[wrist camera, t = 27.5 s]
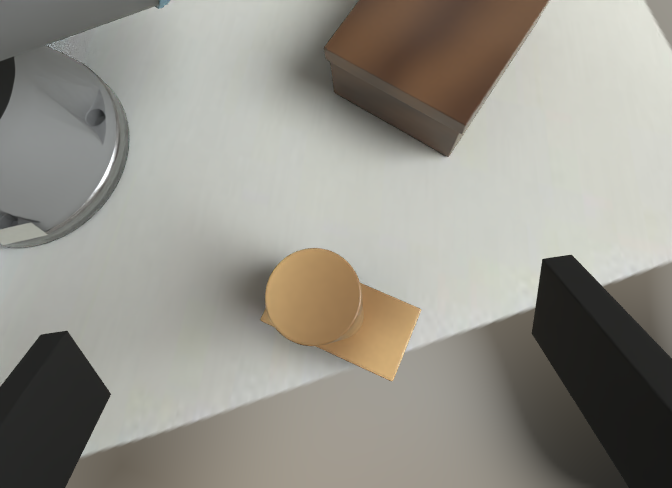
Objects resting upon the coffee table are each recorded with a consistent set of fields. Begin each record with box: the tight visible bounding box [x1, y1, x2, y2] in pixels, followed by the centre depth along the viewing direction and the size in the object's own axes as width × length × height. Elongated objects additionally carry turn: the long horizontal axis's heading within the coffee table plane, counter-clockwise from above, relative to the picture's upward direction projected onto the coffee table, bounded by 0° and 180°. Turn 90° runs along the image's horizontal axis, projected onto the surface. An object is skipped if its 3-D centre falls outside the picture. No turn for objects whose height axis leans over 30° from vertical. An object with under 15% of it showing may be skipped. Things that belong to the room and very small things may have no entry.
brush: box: [261, 248, 421, 381], centre depth 20 cm, size 8×4×16 cm, turn 66°
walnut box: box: [324, 0, 550, 157], centre depth 29 cm, size 11×13×5 cm
